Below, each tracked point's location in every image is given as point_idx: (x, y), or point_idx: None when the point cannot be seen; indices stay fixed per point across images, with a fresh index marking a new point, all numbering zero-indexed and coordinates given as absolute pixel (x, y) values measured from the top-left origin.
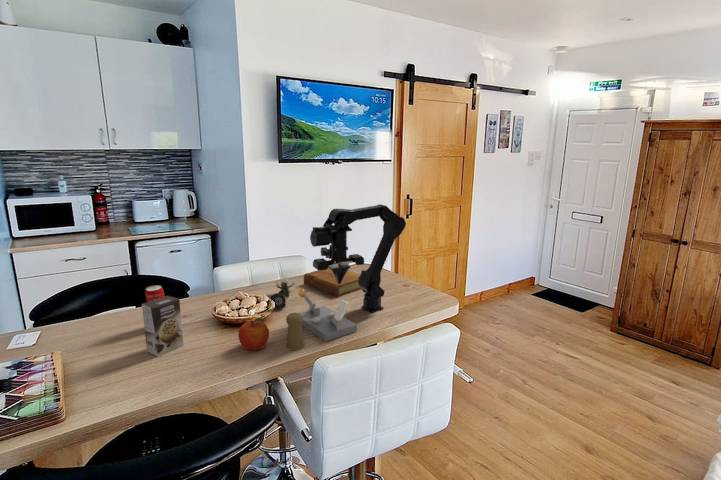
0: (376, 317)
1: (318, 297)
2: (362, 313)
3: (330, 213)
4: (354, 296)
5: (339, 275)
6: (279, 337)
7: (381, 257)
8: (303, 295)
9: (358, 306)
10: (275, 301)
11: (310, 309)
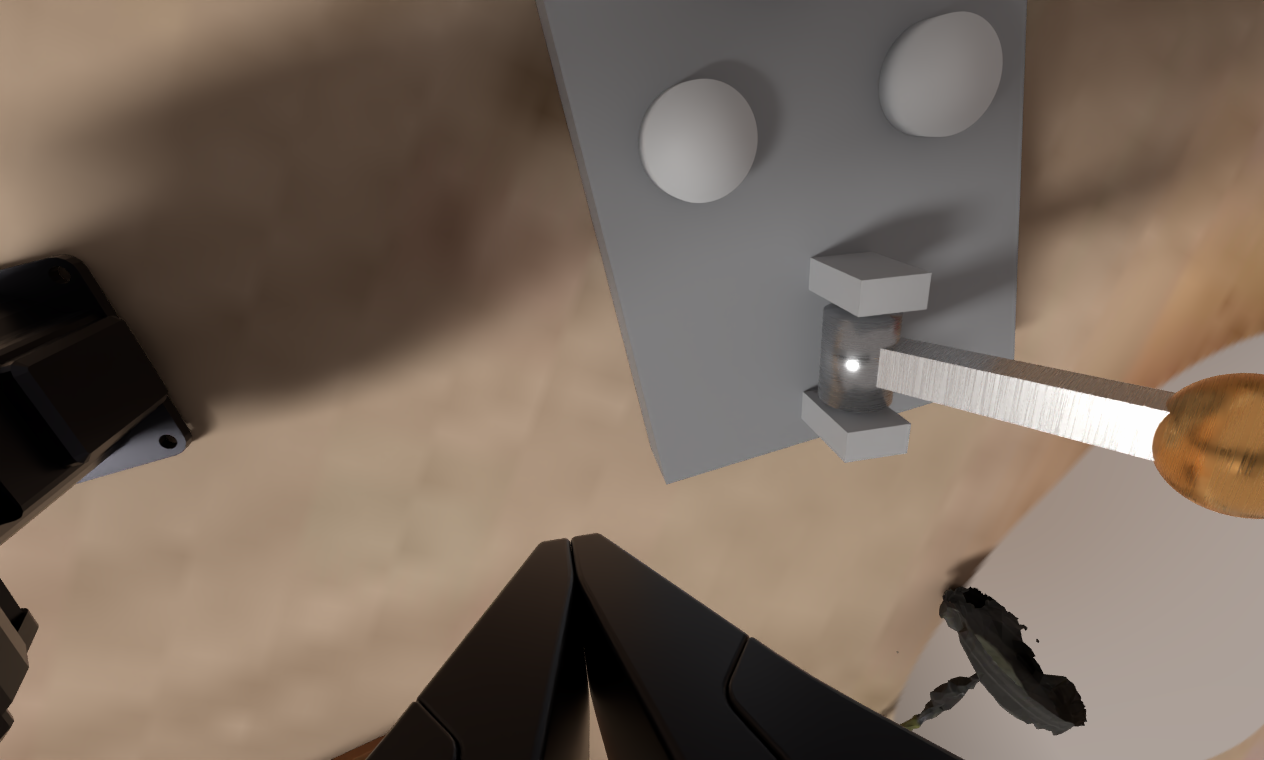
0: (19, 72)
1: None
2: (220, 279)
3: None
4: (219, 721)
5: (693, 701)
6: (1255, 26)
7: None
8: (1247, 375)
9: (229, 483)
10: (1008, 667)
11: None
